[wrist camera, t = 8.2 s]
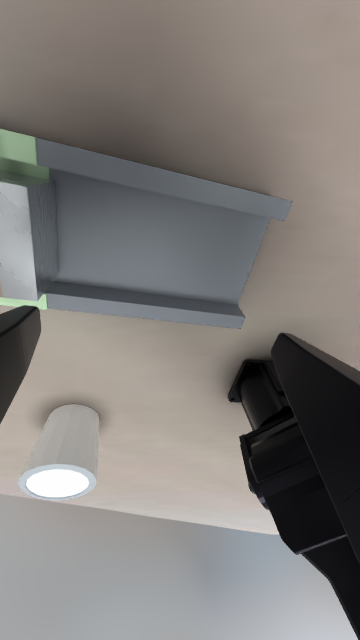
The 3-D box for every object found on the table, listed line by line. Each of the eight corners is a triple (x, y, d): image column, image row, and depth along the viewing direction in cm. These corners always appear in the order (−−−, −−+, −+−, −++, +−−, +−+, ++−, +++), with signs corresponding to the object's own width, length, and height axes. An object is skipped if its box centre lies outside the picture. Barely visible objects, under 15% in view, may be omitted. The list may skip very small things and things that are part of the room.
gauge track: (229, 309, 23) (249, 343, 19) (-56, 274, 18) (-117, 309, 14) (270, 196, 18) (310, 206, 14) (-107, 101, 13) (-228, 72, 9)
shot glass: (91, 441, 32) (80, 505, 26) (34, 430, 29) (8, 497, 23) (114, 409, 29) (108, 472, 23) (54, 393, 26) (29, 459, 20)
